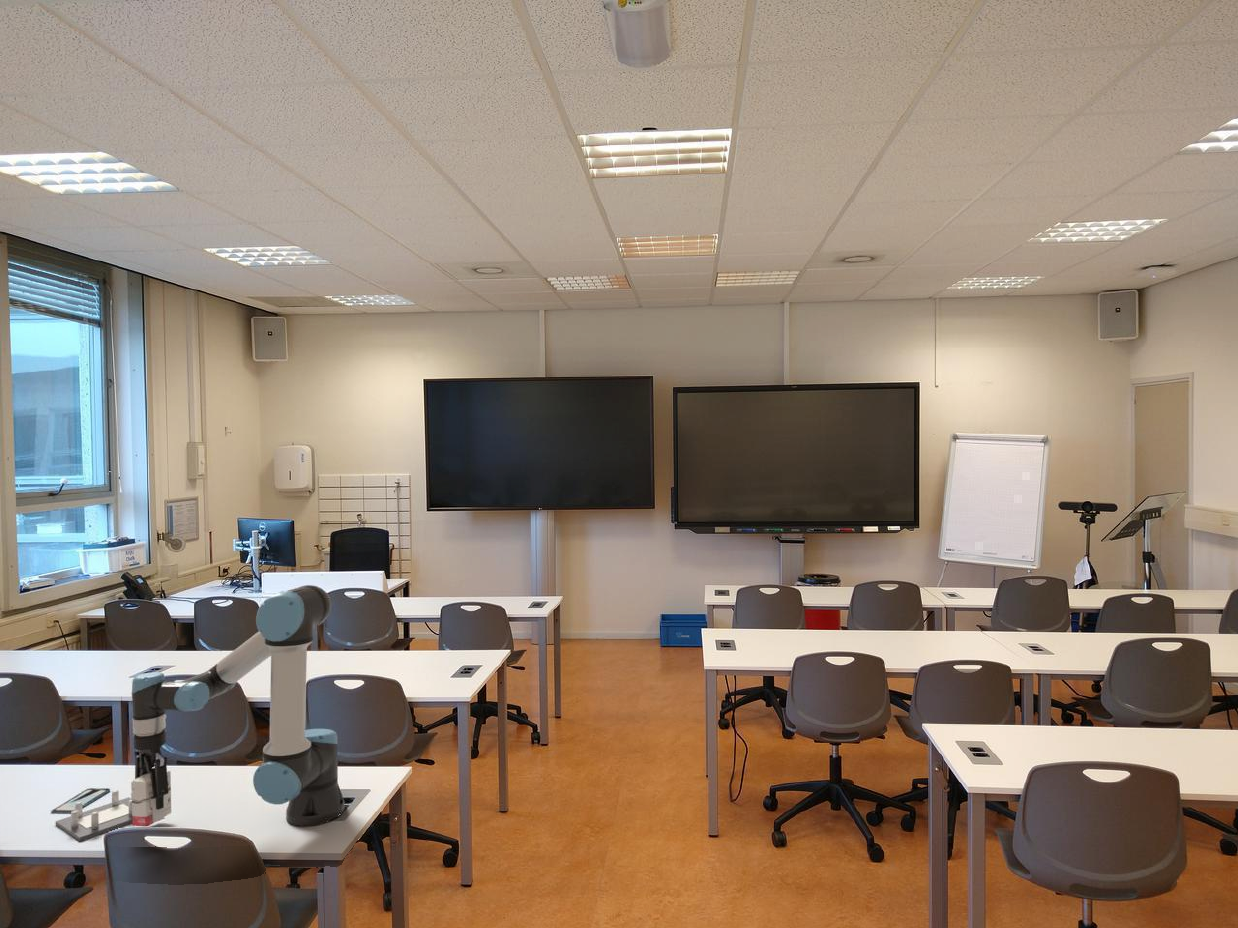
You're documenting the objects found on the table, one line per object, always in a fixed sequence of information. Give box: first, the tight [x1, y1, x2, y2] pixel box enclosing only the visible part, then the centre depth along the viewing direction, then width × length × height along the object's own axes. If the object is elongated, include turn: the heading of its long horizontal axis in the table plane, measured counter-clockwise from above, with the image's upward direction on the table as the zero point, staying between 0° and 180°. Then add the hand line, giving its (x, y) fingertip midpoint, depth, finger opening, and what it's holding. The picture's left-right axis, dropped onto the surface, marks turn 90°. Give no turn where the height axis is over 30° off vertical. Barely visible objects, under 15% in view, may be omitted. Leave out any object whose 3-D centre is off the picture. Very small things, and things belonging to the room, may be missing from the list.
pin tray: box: [55, 789, 133, 842], centre depth 210 cm, size 16×18×5 cm
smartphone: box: [50, 787, 111, 814], centre depth 221 cm, size 7×1×15 cm
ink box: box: [130, 770, 172, 827], centre depth 205 cm, size 9×5×12 cm, turn 167°
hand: (152, 816), depth 205 cm, fingers closed on ink box, 6 cm apart
